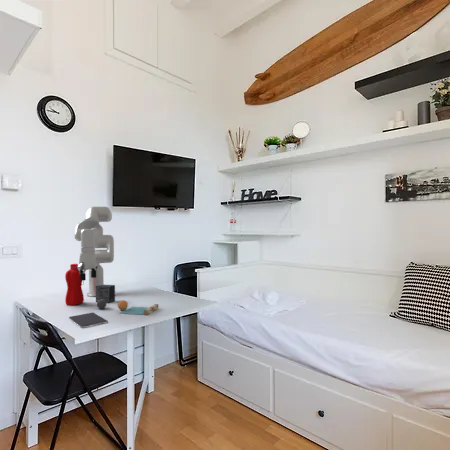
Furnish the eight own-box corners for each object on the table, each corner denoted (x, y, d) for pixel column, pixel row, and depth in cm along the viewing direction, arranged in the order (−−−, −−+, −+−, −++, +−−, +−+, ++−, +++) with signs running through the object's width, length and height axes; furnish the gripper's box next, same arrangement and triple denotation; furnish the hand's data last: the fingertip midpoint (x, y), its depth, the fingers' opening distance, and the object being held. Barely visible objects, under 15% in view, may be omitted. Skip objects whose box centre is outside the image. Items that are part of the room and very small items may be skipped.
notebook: (107, 323, 162) (93, 315, 178) (107, 320, 162) (93, 312, 178) (81, 329, 153) (68, 319, 169) (81, 326, 153) (68, 316, 169)
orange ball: (121, 308, 189) (121, 299, 189) (129, 308, 187) (129, 299, 187) (116, 310, 183) (115, 301, 183) (124, 311, 182) (124, 301, 182)
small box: (115, 300, 208) (115, 284, 208) (109, 303, 201) (109, 286, 201) (101, 299, 211) (101, 284, 211) (95, 302, 204) (95, 285, 204)
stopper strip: (155, 308, 188) (155, 304, 188) (158, 308, 188) (158, 304, 188) (143, 315, 175) (143, 310, 175) (147, 315, 174) (147, 310, 174)
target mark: (132, 306, 192) (132, 306, 192) (153, 308, 189) (153, 307, 189) (119, 313, 178) (119, 313, 178) (142, 314, 175) (142, 314, 175)
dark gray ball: (100, 307, 192) (100, 298, 192) (108, 307, 191) (108, 298, 191) (94, 309, 187) (94, 300, 187) (102, 310, 185) (102, 300, 185)
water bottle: (78, 306, 195) (78, 265, 195) (63, 305, 197) (62, 264, 197) (88, 302, 204) (87, 263, 204) (73, 301, 206) (72, 262, 206)
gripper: (92, 249, 199) (92, 276, 199) (72, 251, 183) (72, 281, 183) (102, 249, 197) (102, 276, 197) (83, 251, 181) (84, 281, 181)
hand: (88, 278), depth 190 cm, fingers open, 9 cm apart
